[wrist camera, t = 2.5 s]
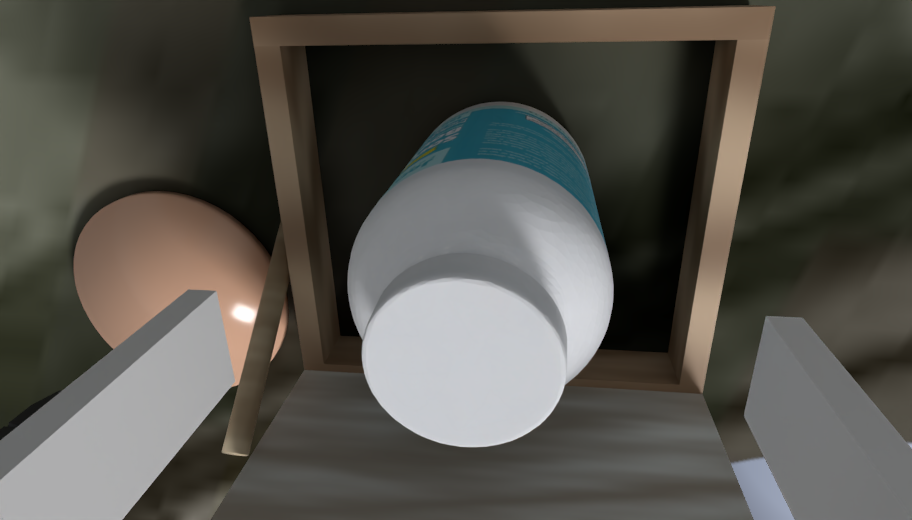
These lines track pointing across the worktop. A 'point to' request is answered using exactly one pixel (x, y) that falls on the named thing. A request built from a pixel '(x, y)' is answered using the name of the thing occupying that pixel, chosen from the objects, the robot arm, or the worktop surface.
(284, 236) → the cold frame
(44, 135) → the worktop surface
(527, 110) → the pill bottle
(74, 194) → the worktop surface
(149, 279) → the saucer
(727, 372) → the worktop surface
